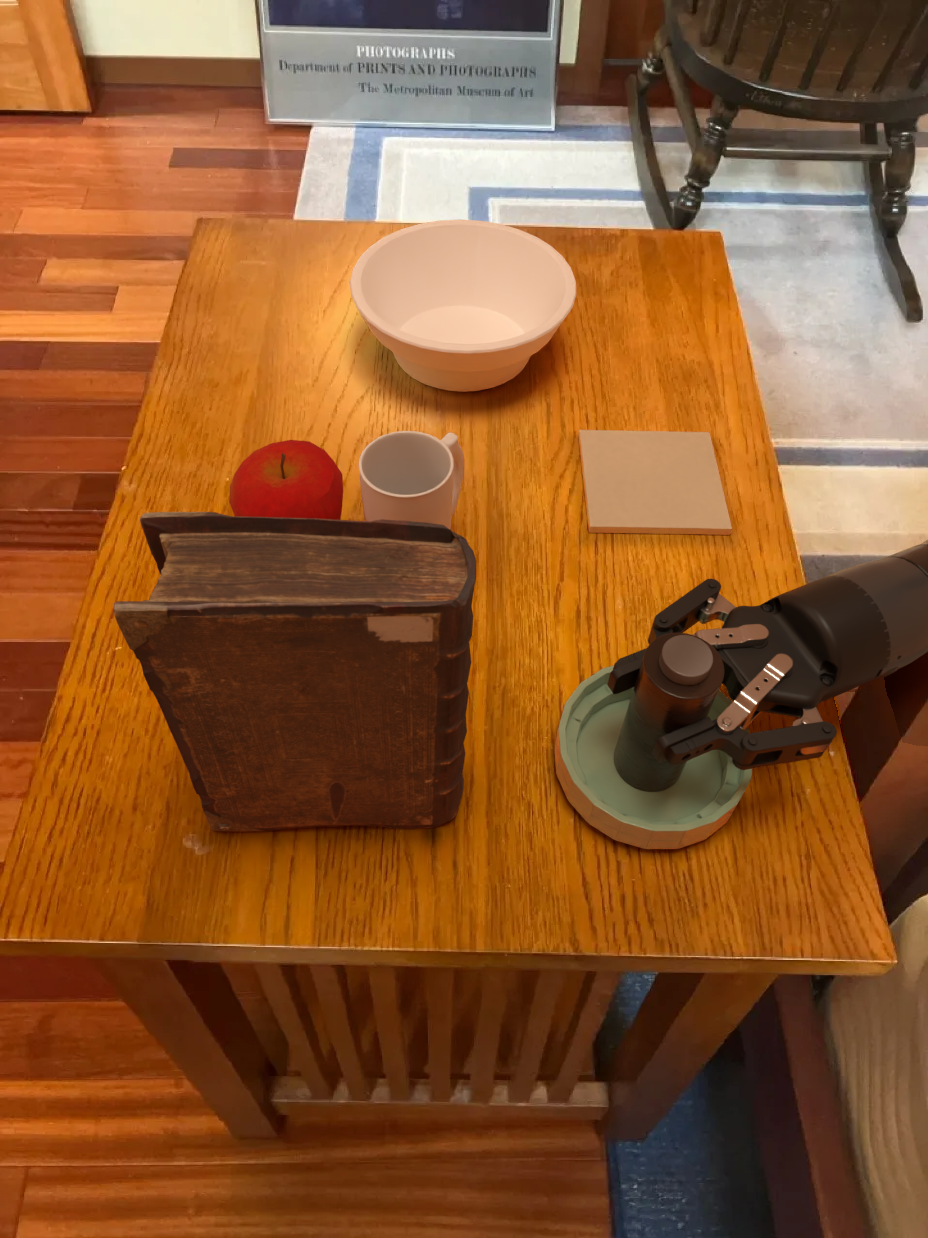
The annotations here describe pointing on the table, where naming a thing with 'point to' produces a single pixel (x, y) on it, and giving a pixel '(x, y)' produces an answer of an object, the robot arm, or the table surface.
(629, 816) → the celadon bowl
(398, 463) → the mug
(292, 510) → the apple
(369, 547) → the book
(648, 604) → the table surface
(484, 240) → the bowl
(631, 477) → the tile
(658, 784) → the thermos flask
